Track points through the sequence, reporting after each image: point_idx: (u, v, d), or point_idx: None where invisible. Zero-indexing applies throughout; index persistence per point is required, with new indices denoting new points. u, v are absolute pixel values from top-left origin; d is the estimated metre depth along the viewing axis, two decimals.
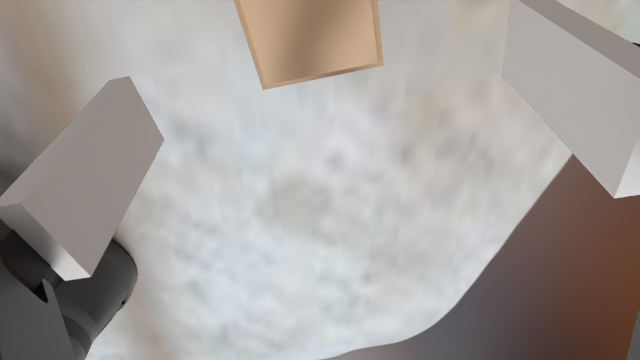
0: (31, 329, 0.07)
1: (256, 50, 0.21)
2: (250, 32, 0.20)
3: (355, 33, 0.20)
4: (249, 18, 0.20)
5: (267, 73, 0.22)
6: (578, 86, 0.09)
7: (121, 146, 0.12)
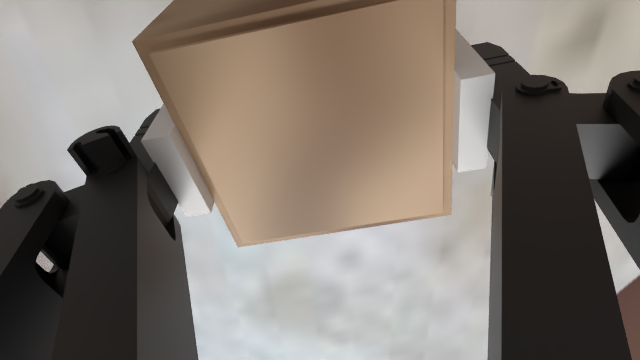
0: (161, 265, 0.08)
1: (222, 197, 0.11)
2: (209, 171, 0.11)
3: (406, 173, 0.11)
4: (206, 148, 0.10)
5: (244, 226, 0.12)
6: None
7: None
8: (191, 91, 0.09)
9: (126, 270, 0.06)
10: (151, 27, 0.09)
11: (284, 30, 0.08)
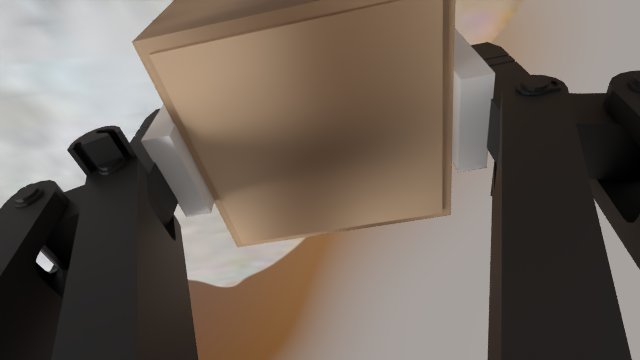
0: (161, 265, 0.08)
1: (222, 197, 0.11)
2: (208, 171, 0.11)
3: (406, 173, 0.11)
4: (206, 149, 0.10)
5: (244, 226, 0.12)
6: None
7: None
8: (191, 91, 0.09)
9: (125, 271, 0.06)
10: (151, 28, 0.09)
11: (283, 31, 0.08)
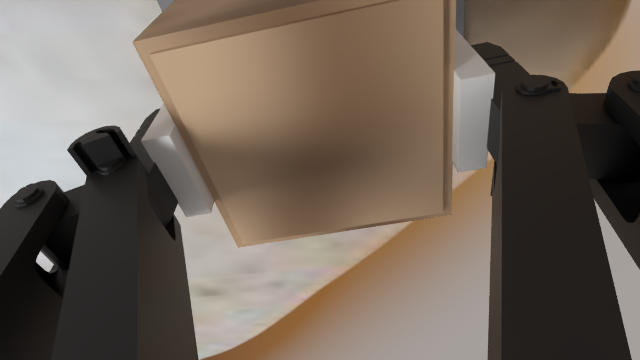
0: (161, 265, 0.08)
1: (222, 197, 0.11)
2: (209, 171, 0.11)
3: (406, 173, 0.11)
4: (206, 149, 0.10)
5: (244, 226, 0.12)
6: None
7: None
8: (191, 91, 0.09)
9: (126, 270, 0.06)
10: (151, 27, 0.09)
11: (284, 30, 0.08)
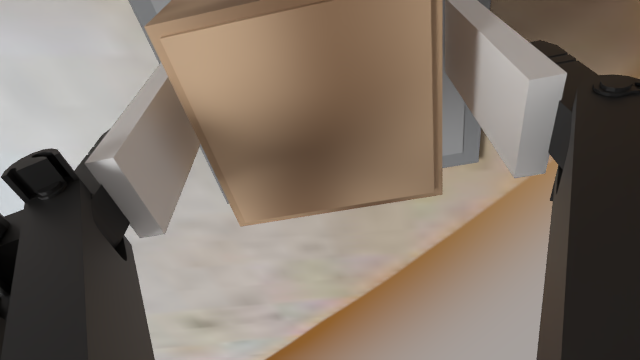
0: (111, 286, 0.07)
1: (226, 176, 0.12)
2: (214, 151, 0.11)
3: (399, 153, 0.11)
4: (211, 129, 0.11)
5: (247, 205, 0.13)
6: (488, 79, 0.10)
7: (181, 118, 0.13)
8: (197, 73, 0.10)
9: (72, 293, 0.06)
10: (161, 14, 0.10)
11: (284, 16, 0.09)
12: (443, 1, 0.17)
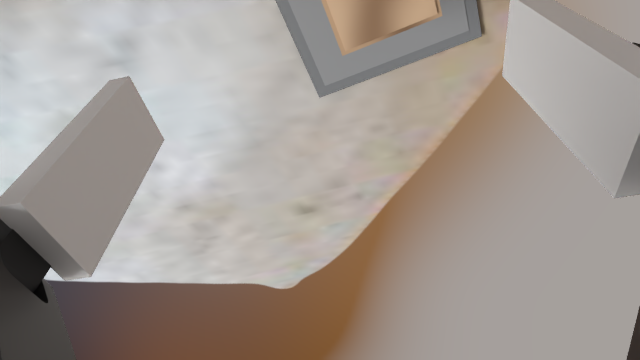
0: (31, 329, 0.07)
1: (335, 22, 0.25)
2: (329, 8, 0.25)
3: None
4: None
5: (345, 40, 0.26)
6: (578, 86, 0.09)
7: (121, 146, 0.12)
8: None
9: None
10: None
11: None
12: None
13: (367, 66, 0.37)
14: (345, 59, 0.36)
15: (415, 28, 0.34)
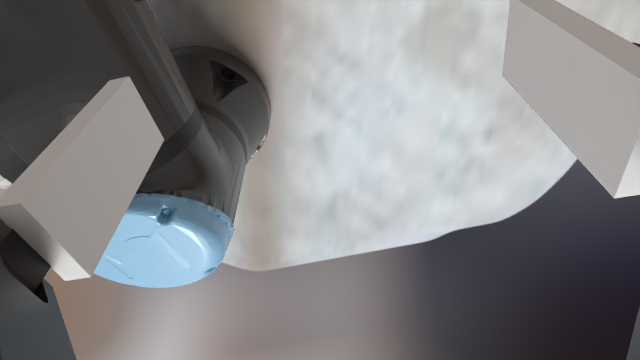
0: (31, 329, 0.07)
1: None
2: None
3: None
4: None
5: None
6: (578, 86, 0.09)
7: (121, 146, 0.12)
8: None
9: None
10: None
11: None
12: None
13: None
14: None
15: None
